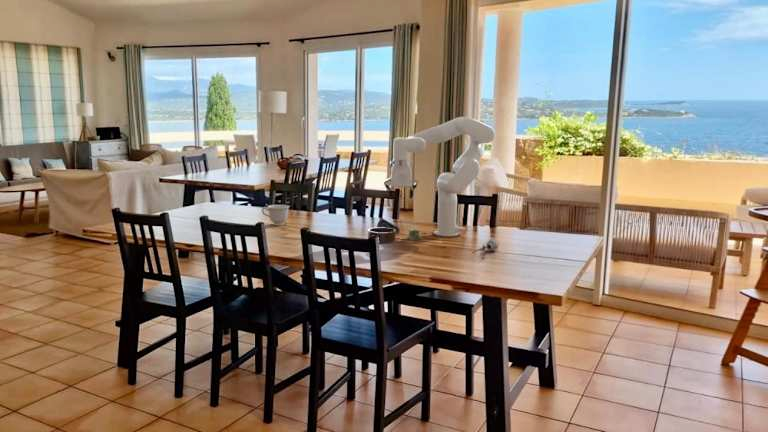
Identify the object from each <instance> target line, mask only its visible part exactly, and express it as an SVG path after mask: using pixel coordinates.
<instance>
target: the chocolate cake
mask: <svg viewBox="0 0 768 432" xmlns="http://www.w3.org/2000/svg"><path fill="white" fill-rule="evenodd" d="M378 227H384V228H392V229H395V230H396V234H399V233H400V231H401V229H400V227H399V226H397V225H394V224H393V223H392V222H390V221H388V220H387V219H384V218H382V217H380V218H379V221H378V222H377V224H376V228H378Z"/></svg>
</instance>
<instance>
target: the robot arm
mask: <svg viewBox="0 0 768 432" xmlns="http://www.w3.org/2000/svg"><path fill="white" fill-rule="evenodd" d="M462 135H467V136H468V138H469V139H468V140H469V141H468V146H467V148H466V149H465V151H464V152H463V153H462V154H461V155H460V156H459V157H457V159H455V161H454V163H453V165H452V170H453V172H443V173H441V174H439V176H438V178H437V181H436V186H437V198H438V199H437V227H436V228H437V229H436V230H434V231H433V234H434V235H435V236H438V237H444V238H445V237H446V238H447V237H448V238H449V237H452V238H453V237H457V236H459V235H460V232H466V227H462V226H458V225H457V216H458V215H457V214H458V196H457V195H459V194H461V193H462V192H464V191H465V190H466V189H467V188H468V187H469V186H470V184H471V183H472V182H473V181H475V179H476V178H477V177H478V175H479V173H480V171H481V166H480V163H479V161H480V160H481V159H482V157H483V156H484V153H485V144H490V143H492V142H493V141H494V140H495V137H496V131H495V130H494V128H493V127H492V126H490V125H488V124H486V123H484V122H482V121H480V120H478V119H475V118H473V117H471V116H459V117H455V118H453V119H450V120H448V121H446V122H444V123H441V124H439V125H437V126H436V125H435V126H432V127H430V128H427V129H424V130H421V131H418V132H417V133H414V134H411V135H408V136H407V137H395V138H394V139H393V146H392V148H393V150H392V151H393V153H392V154H393V157H392V160H390V163H389V164H390V165H392V166H391V171H390V177H389V178H387V179H385V180H383V182H382V183H383V185H384V187H385V188H386V189H387V191H388V197H389V199H391V200H392V199H393V188H409V191H408V192H409V193H408V194H409V195H408V197H409V199H411V200H412V198H413V197H414V190H415V189H416V188H417V186H418V185H419V183H420V182H419V180H418V179H416V178H413V176H412V175H413V174H412V173H413V172H412V168H411V165H410V153H415V154H421V153H423V152H425V150H426V148H427V146H428V145H434V144H441V143H445V142H448V141H450V140H452V139H454V138H456V137H459V136H462ZM388 183H390V186H389V185H388ZM413 183H414V185H413Z"/></svg>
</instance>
